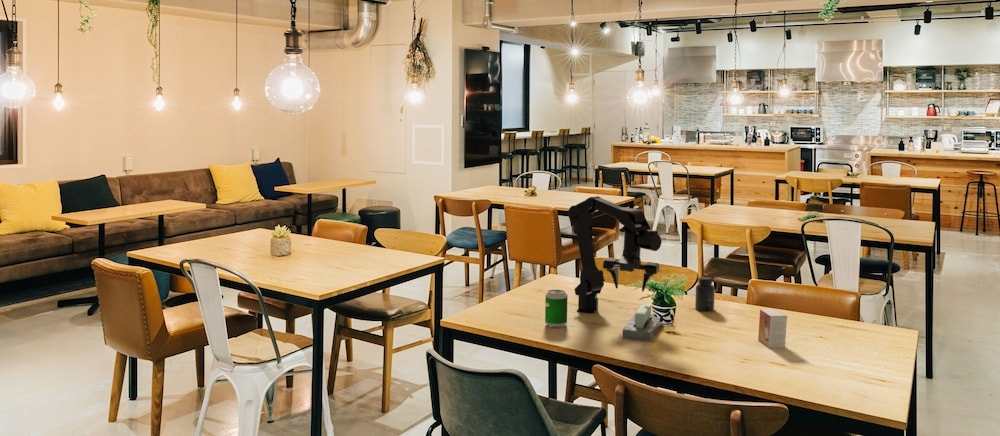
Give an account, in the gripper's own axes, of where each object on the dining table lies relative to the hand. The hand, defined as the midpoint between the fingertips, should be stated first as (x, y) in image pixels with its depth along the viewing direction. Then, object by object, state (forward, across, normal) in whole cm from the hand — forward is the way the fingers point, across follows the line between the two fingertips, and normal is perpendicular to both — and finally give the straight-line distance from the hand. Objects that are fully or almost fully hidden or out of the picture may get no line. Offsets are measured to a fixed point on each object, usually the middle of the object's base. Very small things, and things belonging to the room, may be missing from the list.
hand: (629, 289), depth 270 cm
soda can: (+12, -22, -14) cm, 29 cm away
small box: (+10, +48, -7) cm, 50 cm away
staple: (+11, +7, -9) cm, 16 cm away
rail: (+11, +7, -9) cm, 16 cm away
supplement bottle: (+12, +22, +27) cm, 37 cm away
